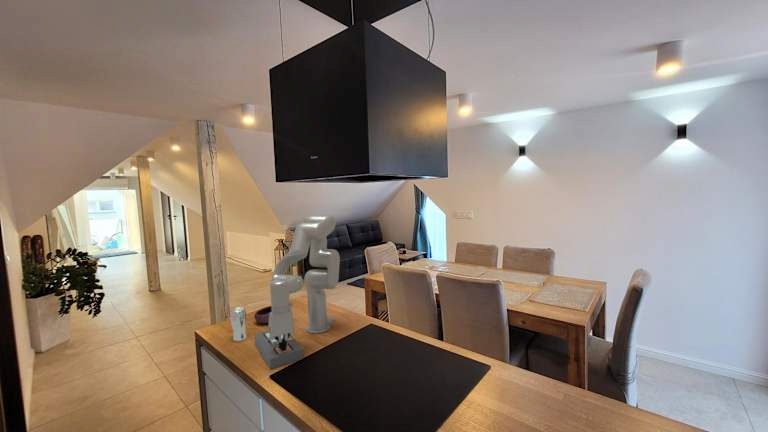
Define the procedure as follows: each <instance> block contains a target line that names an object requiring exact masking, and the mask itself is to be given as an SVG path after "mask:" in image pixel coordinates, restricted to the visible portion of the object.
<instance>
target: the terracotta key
mask: <svg viewBox="0 0 768 432" xmlns="http://www.w3.org/2000/svg"><path fill="white" fill-rule="evenodd" d="M288 351H292V349H291V348H290V347H289V346H288V345H287V347H286V350H284V351H282V350H281V349H279V347H278V348H275V352H276V353H277V355H279V354H282V353H285V352H288Z"/></svg>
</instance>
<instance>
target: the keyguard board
mask: <svg viewBox="0 0 768 432" xmlns="http://www.w3.org/2000/svg"><path fill="white" fill-rule="evenodd" d="M268 332H269V329H268V330H265V331H262V332H258V333H254V334H253V335H254V344H255V345H256V347H257V349H258V350H259V352H260V354H261V356H262V357H263V359H264V361H265V363H266V365H267V367H268V368H269V370H274V369H277V368H280V367H282V366H286V365H288V364H291V363H294V362H297V361H300V360H303V359H304V348H303V347H302V346H301V345H300V343H298V341H297V340H296V338H294V337H293V335H290V336H289V338H288V340H287V345H288V346H289V347H290V348H291V349H292V351H288V352H285V353H282V354H279V355H277V353H276V352H275V348H278V347H279V344H278V345H275V346H271V345H270V340H269V338H268V339H266V337H265V333H268Z"/></svg>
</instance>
